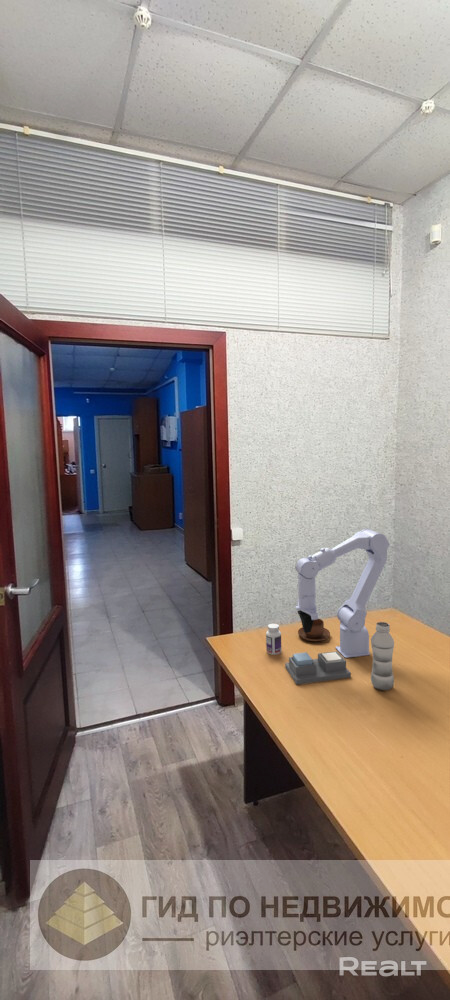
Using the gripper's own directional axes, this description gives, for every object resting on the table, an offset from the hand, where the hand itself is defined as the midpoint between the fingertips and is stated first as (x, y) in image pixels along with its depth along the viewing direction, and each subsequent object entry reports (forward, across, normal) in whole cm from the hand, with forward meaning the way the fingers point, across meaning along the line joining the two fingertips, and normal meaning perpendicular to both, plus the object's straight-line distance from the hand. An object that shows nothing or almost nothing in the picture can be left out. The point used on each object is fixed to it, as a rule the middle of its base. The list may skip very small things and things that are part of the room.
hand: (307, 631), depth 153 cm
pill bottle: (+10, -7, -10) cm, 16 cm away
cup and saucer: (+10, -15, +8) cm, 19 cm away
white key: (+8, +10, +5) cm, 13 cm away
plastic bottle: (+10, +23, +15) cm, 29 cm away
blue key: (+6, +10, -5) cm, 13 cm away
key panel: (+9, +10, 0) cm, 14 cm away
